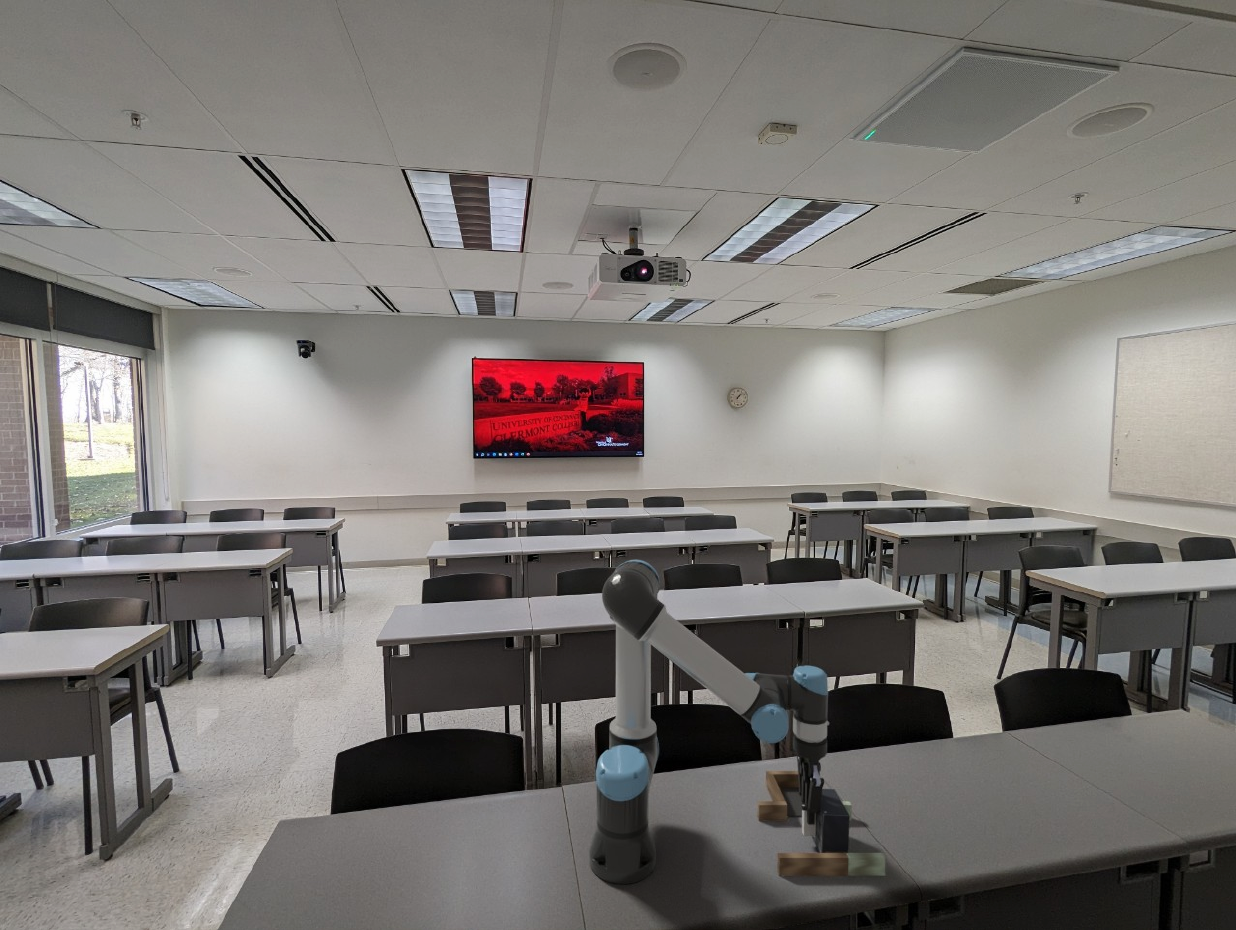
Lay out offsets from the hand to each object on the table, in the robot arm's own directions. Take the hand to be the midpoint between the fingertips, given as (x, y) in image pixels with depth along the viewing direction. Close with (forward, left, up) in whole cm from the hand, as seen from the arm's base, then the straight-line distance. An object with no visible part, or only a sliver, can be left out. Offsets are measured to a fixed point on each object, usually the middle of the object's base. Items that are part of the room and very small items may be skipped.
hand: (808, 833), depth 139 cm
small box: (+5, 0, -3) cm, 5 cm away
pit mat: (+2, +16, -3) cm, 16 cm away
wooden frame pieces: (+2, +7, -3) cm, 8 cm away
